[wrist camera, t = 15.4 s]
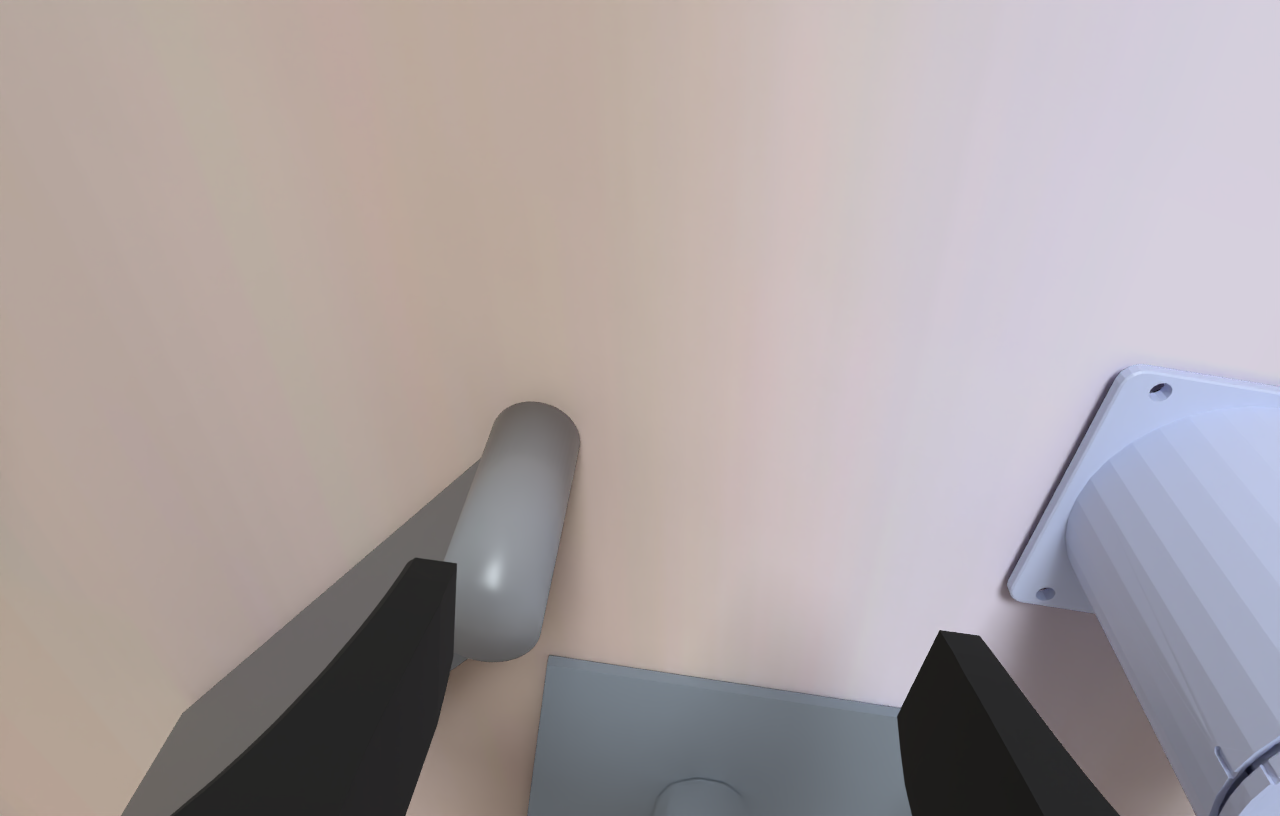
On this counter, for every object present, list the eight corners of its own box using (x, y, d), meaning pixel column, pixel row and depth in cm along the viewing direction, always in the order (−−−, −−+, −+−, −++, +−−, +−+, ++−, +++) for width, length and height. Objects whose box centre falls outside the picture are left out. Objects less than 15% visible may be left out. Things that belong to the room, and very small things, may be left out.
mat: (961, 717, 29) (964, 727, 29) (846, 924, 37) (847, 934, 37) (548, 655, 29) (547, 664, 28) (519, 877, 37) (517, 886, 36)
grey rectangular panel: (598, 441, 23) (564, 627, 18) (225, 737, 32) (125, 926, 26) (531, 385, 23) (475, 561, 17) (167, 705, 31) (50, 892, 25)
